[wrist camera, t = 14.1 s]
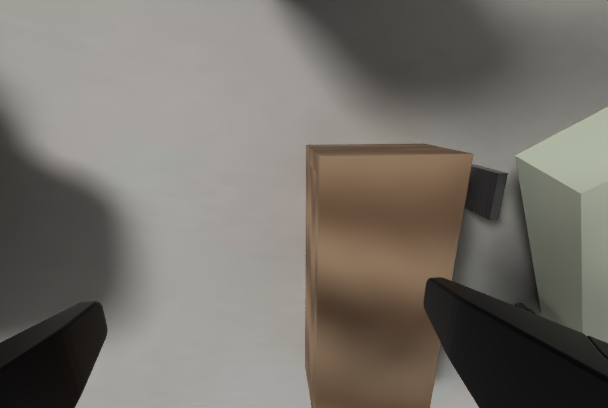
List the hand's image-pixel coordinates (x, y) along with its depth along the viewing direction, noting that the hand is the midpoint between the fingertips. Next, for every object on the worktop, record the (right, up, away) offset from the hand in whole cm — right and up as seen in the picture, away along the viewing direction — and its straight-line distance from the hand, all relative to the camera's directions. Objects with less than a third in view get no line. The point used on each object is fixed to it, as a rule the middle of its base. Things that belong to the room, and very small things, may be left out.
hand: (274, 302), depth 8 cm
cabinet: (+10, -2, +15) cm, 18 cm away
